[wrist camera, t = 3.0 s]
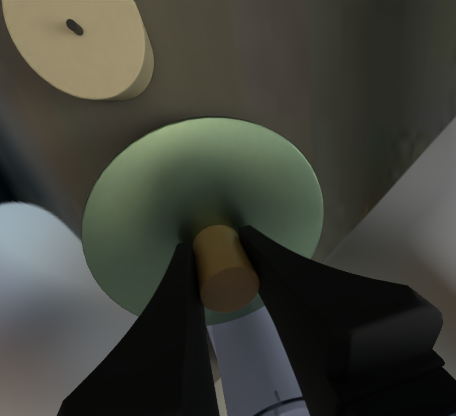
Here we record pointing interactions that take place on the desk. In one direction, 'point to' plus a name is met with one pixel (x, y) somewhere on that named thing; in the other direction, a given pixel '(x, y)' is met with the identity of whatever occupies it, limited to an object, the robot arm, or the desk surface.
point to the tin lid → (198, 211)
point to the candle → (83, 45)
